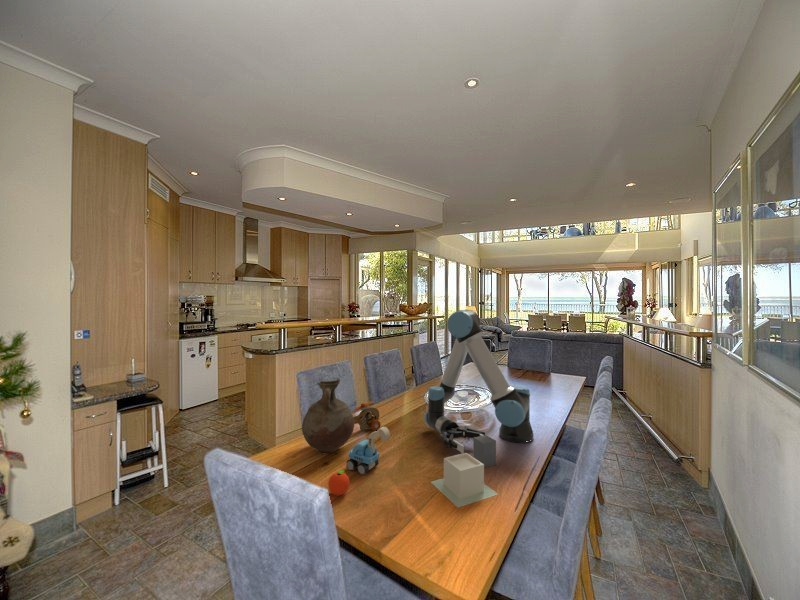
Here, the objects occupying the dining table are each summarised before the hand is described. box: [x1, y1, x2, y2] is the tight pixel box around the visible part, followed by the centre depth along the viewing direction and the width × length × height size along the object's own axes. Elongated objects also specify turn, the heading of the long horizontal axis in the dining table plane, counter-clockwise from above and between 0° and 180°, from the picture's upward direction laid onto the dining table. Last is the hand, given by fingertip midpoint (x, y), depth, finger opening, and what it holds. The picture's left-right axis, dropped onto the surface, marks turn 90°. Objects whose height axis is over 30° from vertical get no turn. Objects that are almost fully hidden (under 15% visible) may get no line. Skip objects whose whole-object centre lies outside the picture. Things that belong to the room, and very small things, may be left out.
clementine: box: [327, 470, 351, 497], centre depth 114 cm, size 8×7×7 cm
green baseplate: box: [430, 477, 499, 508], centre depth 115 cm, size 16×16×1 cm
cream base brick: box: [443, 452, 485, 499], centre depth 115 cm, size 10×10×9 cm
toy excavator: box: [346, 426, 391, 476], centre depth 129 cm, size 9×17×17 cm, turn 58°
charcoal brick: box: [472, 434, 497, 468], centre depth 133 cm, size 6×6×10 cm
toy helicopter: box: [352, 400, 381, 432], centre depth 166 cm, size 8×21×14 cm, turn 123°
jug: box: [301, 377, 355, 455], centre depth 146 cm, size 22×22×30 cm
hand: (477, 446), depth 136 cm, fingers open, 13 cm apart
